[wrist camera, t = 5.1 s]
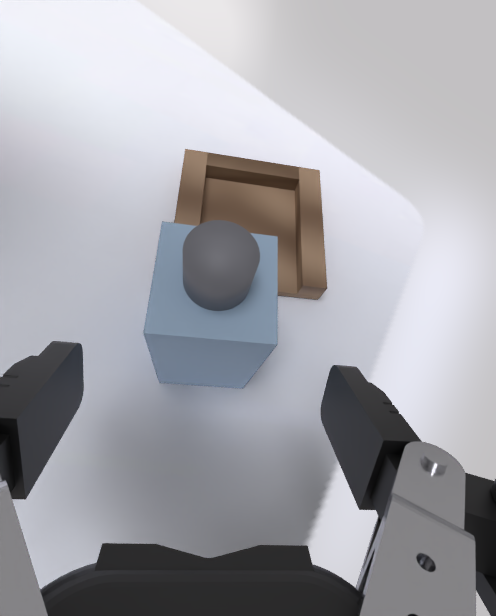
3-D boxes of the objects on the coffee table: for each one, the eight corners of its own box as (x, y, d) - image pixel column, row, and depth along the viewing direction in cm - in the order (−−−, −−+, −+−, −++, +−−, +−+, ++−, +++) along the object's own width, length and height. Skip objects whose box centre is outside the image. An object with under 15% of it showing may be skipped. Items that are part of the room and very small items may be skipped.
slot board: (317, 299, 24) (326, 288, 22) (168, 283, 22) (167, 270, 21) (311, 186, 28) (319, 170, 26) (185, 167, 26) (185, 148, 25)
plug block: (242, 388, 20) (292, 325, 11) (159, 382, 20) (136, 310, 10) (245, 313, 22) (290, 205, 13) (170, 306, 22) (158, 186, 12)
